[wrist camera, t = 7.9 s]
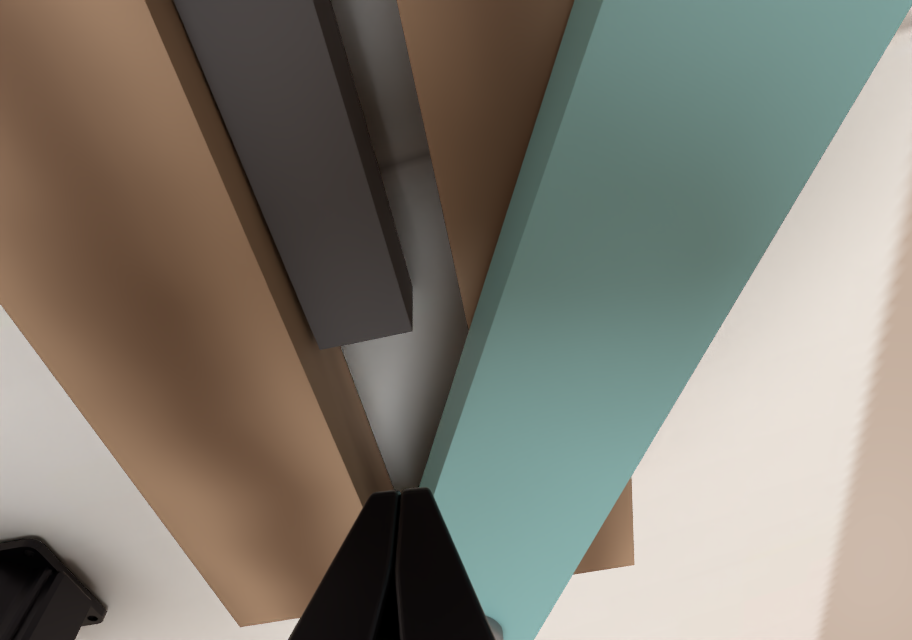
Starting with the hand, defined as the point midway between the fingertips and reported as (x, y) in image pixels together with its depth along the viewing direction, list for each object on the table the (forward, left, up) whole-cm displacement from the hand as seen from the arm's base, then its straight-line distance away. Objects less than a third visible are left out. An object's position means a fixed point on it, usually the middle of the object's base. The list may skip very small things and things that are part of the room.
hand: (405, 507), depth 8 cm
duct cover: (+3, -5, -8) cm, 10 cm away
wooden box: (-3, -4, -12) cm, 13 cm away
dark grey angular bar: (-4, +1, -11) cm, 12 cm away
